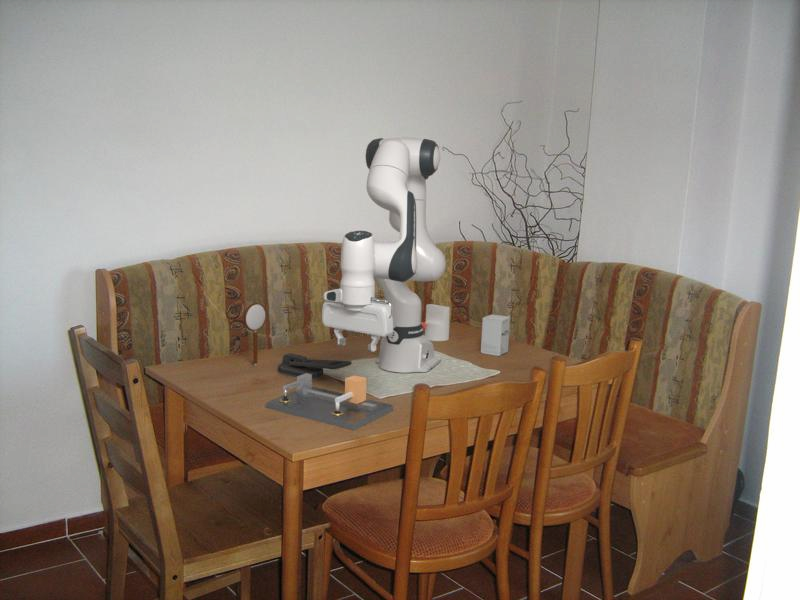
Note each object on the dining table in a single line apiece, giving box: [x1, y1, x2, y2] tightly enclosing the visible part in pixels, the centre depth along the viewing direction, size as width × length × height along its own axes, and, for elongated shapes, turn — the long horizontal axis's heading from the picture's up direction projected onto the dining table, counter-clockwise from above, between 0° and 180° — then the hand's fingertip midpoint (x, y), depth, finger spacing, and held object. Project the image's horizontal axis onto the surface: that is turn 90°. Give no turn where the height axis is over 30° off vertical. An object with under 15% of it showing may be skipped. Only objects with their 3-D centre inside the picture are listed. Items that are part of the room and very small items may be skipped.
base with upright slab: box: [424, 303, 451, 342], centre depth 285 cm, size 9×9×12 cm
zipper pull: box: [277, 352, 352, 381], centre depth 232 cm, size 9×7×25 cm
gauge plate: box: [266, 373, 394, 431], centre depth 204 cm, size 18×28×6 cm, turn 58°
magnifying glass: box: [243, 302, 267, 367], centre depth 241 cm, size 9×2×20 cm, turn 141°
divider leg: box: [335, 374, 368, 411], centre depth 200 cm, size 10×4×6 cm, turn 148°
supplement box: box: [480, 314, 511, 357], centre depth 266 cm, size 7×7×13 cm
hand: (356, 347), depth 201 cm, fingers open, 8 cm apart
